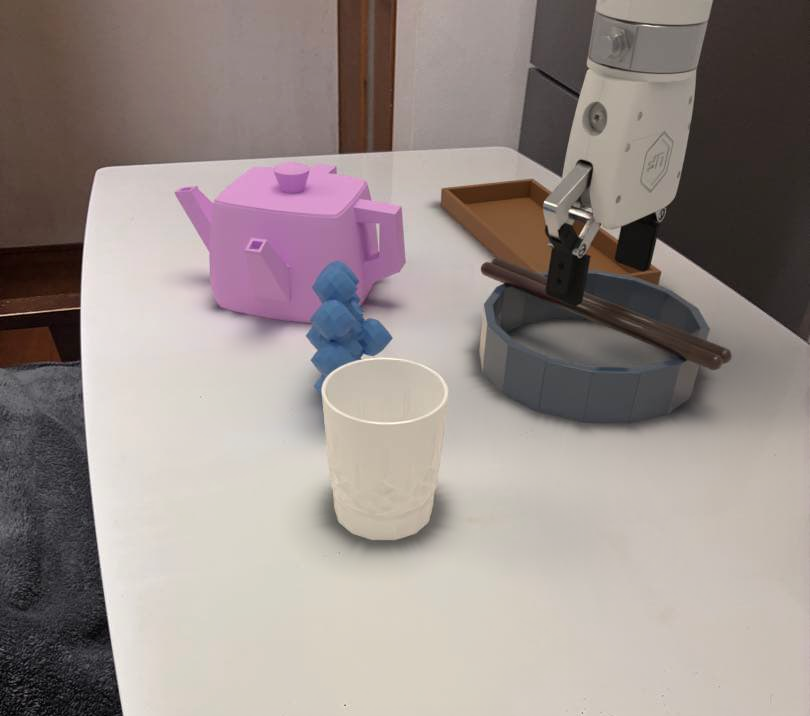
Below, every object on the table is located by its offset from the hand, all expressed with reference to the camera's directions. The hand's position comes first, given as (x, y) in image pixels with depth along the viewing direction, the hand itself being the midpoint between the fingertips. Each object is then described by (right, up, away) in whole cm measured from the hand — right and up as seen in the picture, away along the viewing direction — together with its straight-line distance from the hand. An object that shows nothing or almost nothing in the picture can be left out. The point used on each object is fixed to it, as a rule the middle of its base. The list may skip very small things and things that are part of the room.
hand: (598, 282), depth 70 cm
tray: (-1, +11, +25) cm, 27 cm away
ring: (0, -6, +5) cm, 8 cm away
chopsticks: (0, -2, +2) cm, 3 cm away
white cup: (-17, -19, -10) cm, 28 cm away
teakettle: (-27, +3, +14) cm, 31 cm away
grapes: (-20, -10, 0) cm, 23 cm away
